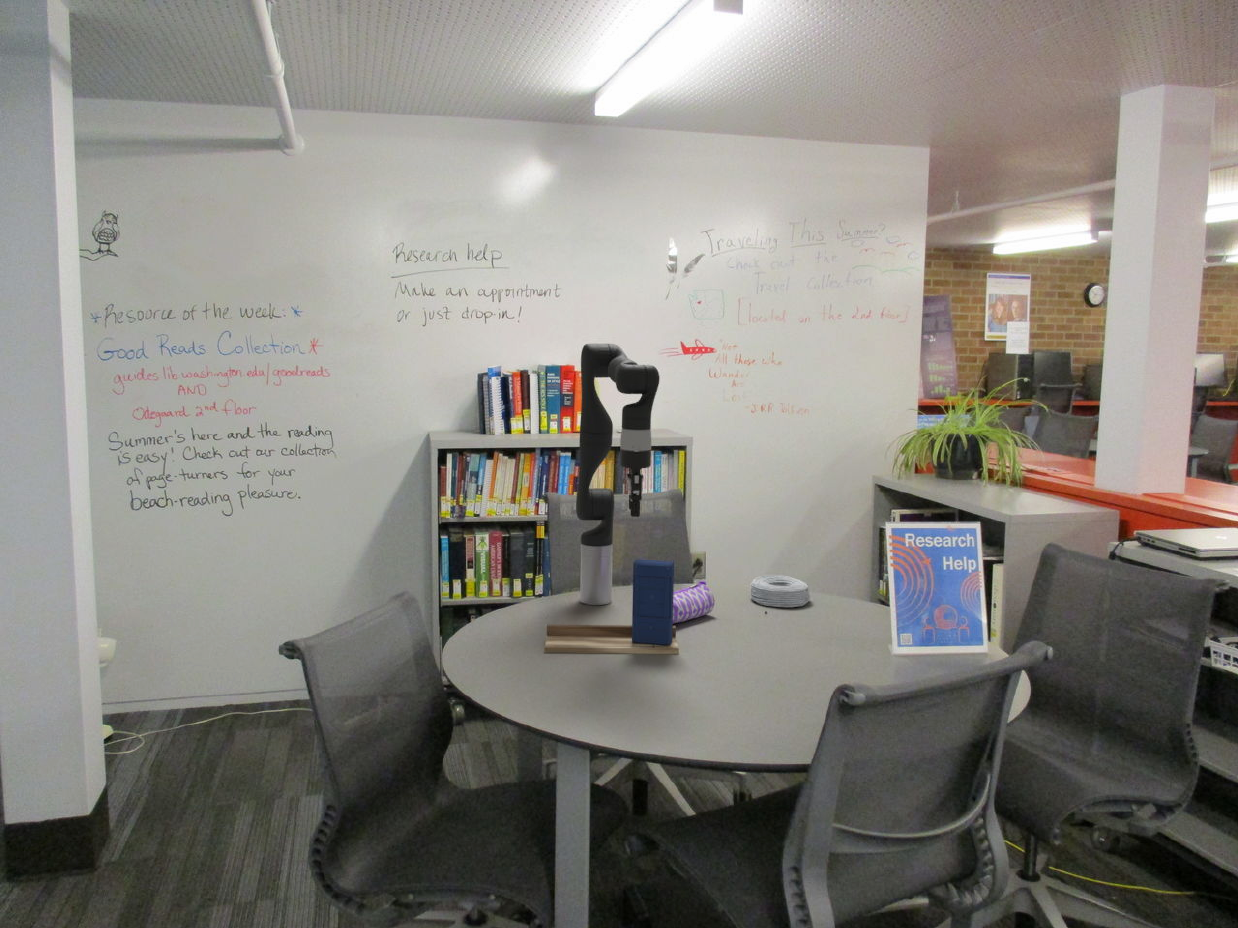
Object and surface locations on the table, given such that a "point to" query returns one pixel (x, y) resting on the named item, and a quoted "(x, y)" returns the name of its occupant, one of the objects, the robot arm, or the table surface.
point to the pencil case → (692, 602)
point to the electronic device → (652, 602)
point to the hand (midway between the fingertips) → (634, 512)
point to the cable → (779, 591)
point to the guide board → (601, 640)
